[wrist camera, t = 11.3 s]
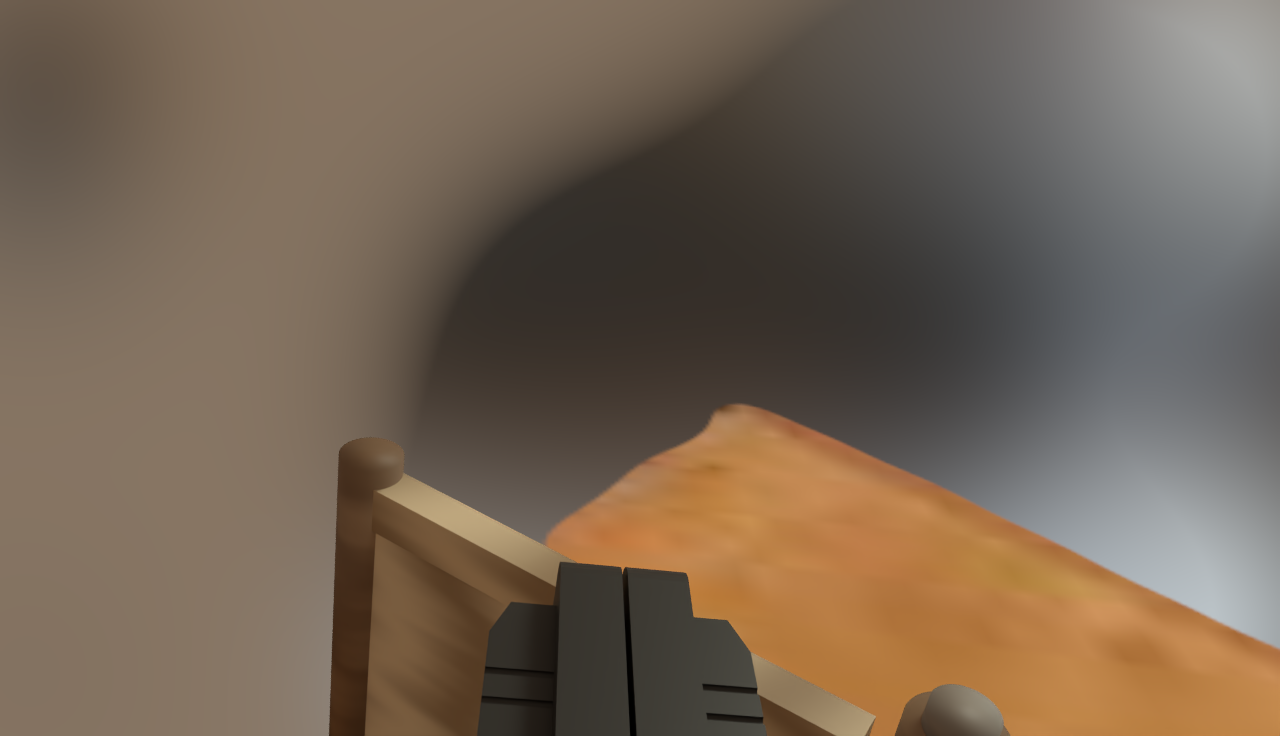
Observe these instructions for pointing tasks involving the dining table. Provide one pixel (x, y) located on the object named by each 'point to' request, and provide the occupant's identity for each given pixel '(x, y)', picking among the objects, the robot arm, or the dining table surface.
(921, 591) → the dining table surface
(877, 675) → the dining table surface
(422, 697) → the swing panel
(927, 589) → the dining table surface
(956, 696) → the corner post
